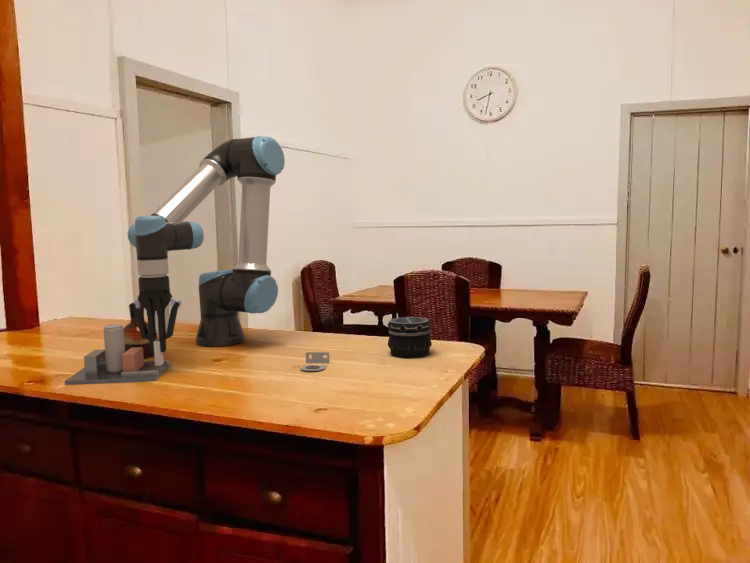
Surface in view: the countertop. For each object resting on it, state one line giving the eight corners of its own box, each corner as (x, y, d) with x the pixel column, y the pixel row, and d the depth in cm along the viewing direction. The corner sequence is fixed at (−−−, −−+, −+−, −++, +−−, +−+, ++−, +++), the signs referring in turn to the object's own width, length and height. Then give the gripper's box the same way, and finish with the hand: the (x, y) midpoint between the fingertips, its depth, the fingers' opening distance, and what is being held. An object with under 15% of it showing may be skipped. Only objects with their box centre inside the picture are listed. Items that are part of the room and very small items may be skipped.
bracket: (298, 373, 164) (297, 360, 164) (306, 364, 174) (305, 352, 174) (322, 373, 164) (322, 360, 163) (329, 364, 174) (329, 352, 173)
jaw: (144, 365, 170) (142, 347, 169) (135, 373, 162) (134, 354, 161) (132, 365, 170) (131, 347, 169) (123, 373, 162) (122, 354, 161)
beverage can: (120, 367, 169) (117, 323, 167) (129, 370, 166) (126, 325, 164) (103, 371, 165) (99, 326, 164) (112, 374, 162) (109, 328, 161)
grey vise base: (170, 365, 174) (169, 343, 174) (155, 381, 158) (154, 357, 158) (88, 368, 173) (87, 346, 172) (64, 384, 157) (63, 361, 156)
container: (379, 352, 185) (379, 318, 184) (417, 347, 191) (417, 314, 190) (401, 361, 174) (400, 325, 173) (440, 355, 180) (440, 321, 179)
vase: (167, 352, 190) (164, 301, 188) (144, 361, 179) (140, 307, 178) (135, 350, 193) (132, 301, 191) (111, 359, 182) (107, 306, 181)
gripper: (182, 273, 167) (187, 360, 170) (132, 274, 167) (138, 361, 170) (175, 276, 160) (181, 367, 163) (123, 278, 159) (129, 369, 162)
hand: (159, 364), depth 166 cm, fingers closed
